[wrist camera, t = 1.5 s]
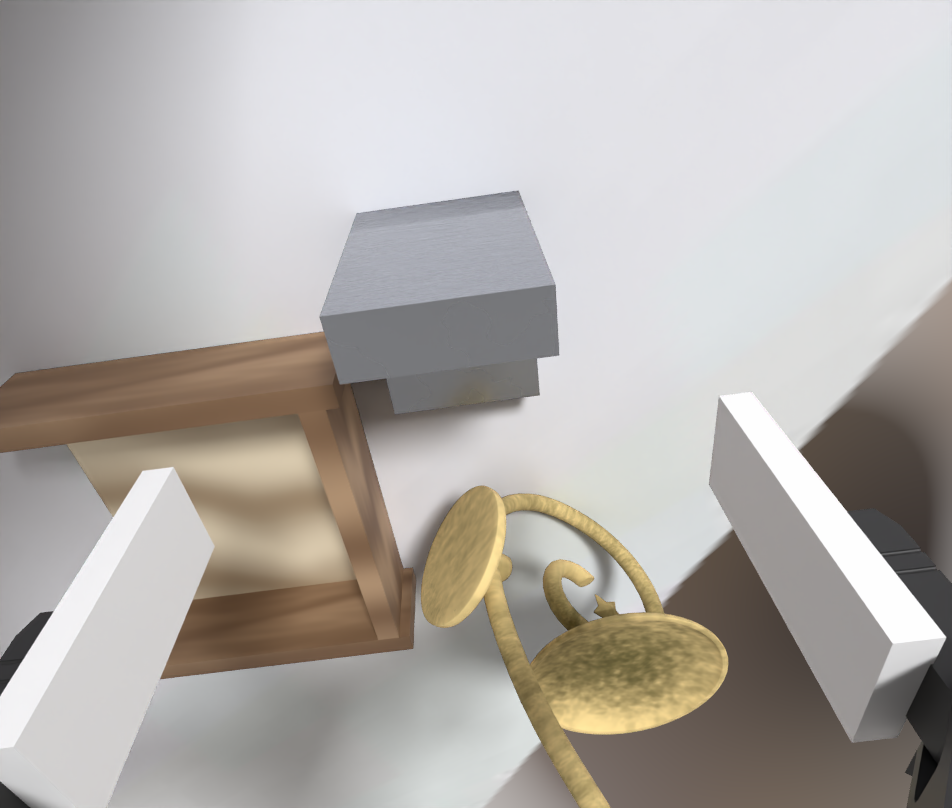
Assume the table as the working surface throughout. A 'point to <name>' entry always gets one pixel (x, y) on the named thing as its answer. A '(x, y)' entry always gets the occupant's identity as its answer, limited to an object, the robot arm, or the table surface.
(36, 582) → the table surface
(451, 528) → the wall sconce
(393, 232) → the angle bracket
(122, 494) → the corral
